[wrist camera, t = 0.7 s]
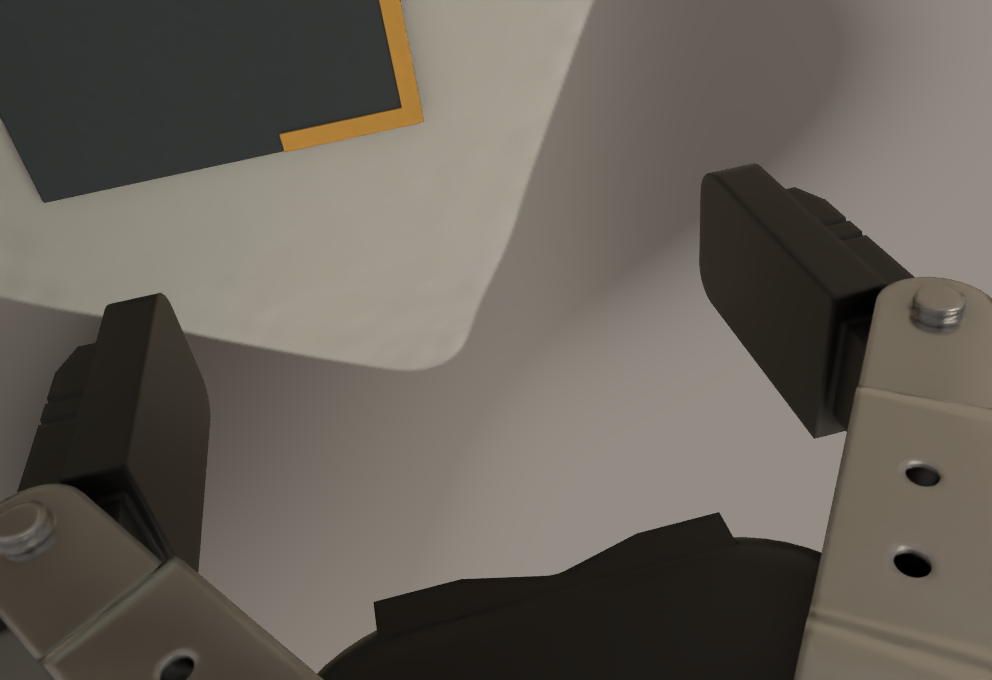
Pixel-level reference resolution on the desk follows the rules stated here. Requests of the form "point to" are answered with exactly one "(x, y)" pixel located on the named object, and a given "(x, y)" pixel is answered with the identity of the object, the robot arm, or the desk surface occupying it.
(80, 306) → the desk surface
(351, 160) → the desk surface
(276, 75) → the mat
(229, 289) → the desk surface
